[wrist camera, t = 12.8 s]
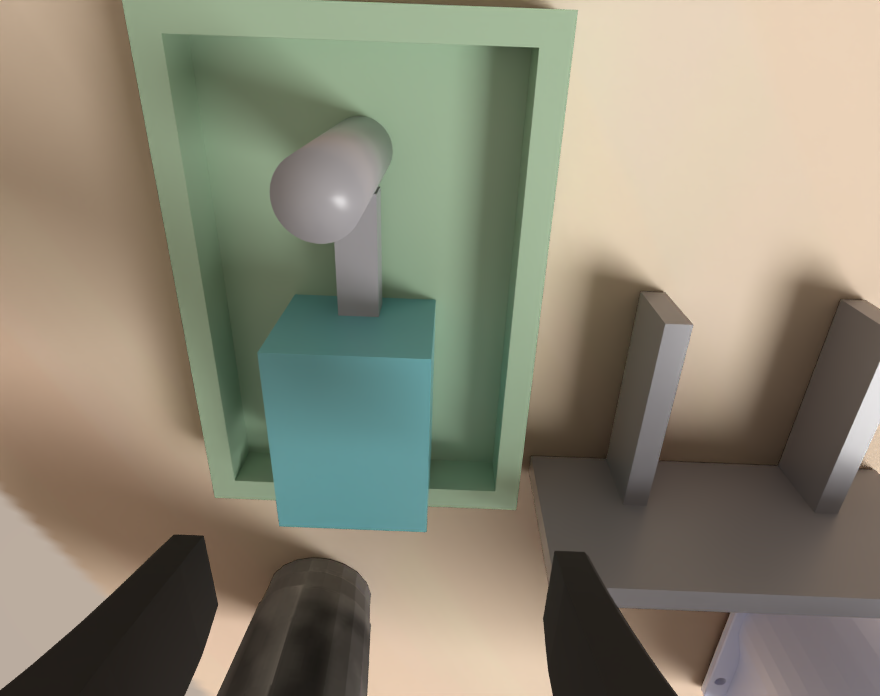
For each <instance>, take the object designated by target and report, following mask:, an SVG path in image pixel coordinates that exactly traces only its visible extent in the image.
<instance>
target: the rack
mask: <svg viewBox="0 0 880 696" xmlns="http://www.w3.org/2000/svg"><path fill="white" fill-rule="evenodd" d="M692 328H693V324H692V323H691V322H690V320H689V319H688V318H687V317H686V316H685V315H684V314H683V312H682V311H681V310H680V309H679V308H678V307H677V305H676V304H675V303H674V302H673V301H672V300H671V298H670V297H669V296H668V295H667V294H666V293H665V292H643V291H641V292H640V297H639V302H638V307H637V311H636V316H635V321H634V326H633V331H632V336H631V341H630V345H629V350H628V355H627V360H626V365H625V370H624V375H623V380H622V384H621V389H620V394H619V399H618V404H617V409H616V414H615V418H614V423H613V428H612V433H611V438H610V443H609V448H608V452H607V457H606V459H598V458H573V457H549V456H531V459H530V467H529V477H530V482H531V488H532V494H533V499H534V505H535V511H536V516H537V522H538V528H539V533H540V539H541V545H542V551H543V556H544V562H545V568H546V573H547V579H548V585H549V581H550V575H551V569H552V562H553V556H554V551H576V552H585V553H586V554H587V555H588V556H589V558H590V560H591V561H592V563H593V565H594V567H595V569H596V571H597V573H598V574H599V576H600V578H601V580H602V581H603V583H604V585H605V587H606V588H607V590H608V592H609V594H610V595H611V597H612V599H613V600H614V602H615V604H616V605H617V607H618V608H638V609H662V610H686V611H710V612H734V613H758V614H783V615H807V616H831V617H855V618H879V619H880V474H879V473H878V472H877V471H876V470H870V469H859V467H860V465H861V462H862V460H863V458H864V456H865V454H866V451H867V449H868V447H869V445H870V443H871V441H872V438H873V436H874V434H875V432H876V430H877V427H878V425H879V423H880V309H879V308H877V307H876V306H874V305H873V304H871V303H869V302H868V301H866V300H846V299H841V300H840V303H839V306H838V308H837V311H836V314H835V316H834V319H833V322H832V324H831V327H830V330H829V332H828V335H827V337H826V340H825V343H824V345H823V348H822V351H821V353H820V356H819V359H818V361H817V364H816V367H815V369H814V372H813V375H812V377H811V380H810V382H809V385H808V388H807V390H806V393H805V396H804V398H803V401H802V404H801V406H800V409H799V412H798V414H797V417H796V420H795V422H794V425H793V428H792V430H791V433H790V435H789V438H788V441H787V443H786V446H785V449H784V451H783V454H782V457H781V459H780V462H779V465H778V466H771V465H746V464H722V463H697V462H672V461H658V460H659V456H660V452H661V449H662V445H663V441H664V437H665V433H666V429H667V425H668V421H669V417H670V414H671V410H672V406H673V402H674V398H675V394H676V390H677V386H678V383H679V379H680V375H681V371H682V367H683V363H684V359H685V355H686V351H687V348H688V344H689V340H690V336H691V332H692Z"/></svg>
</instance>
